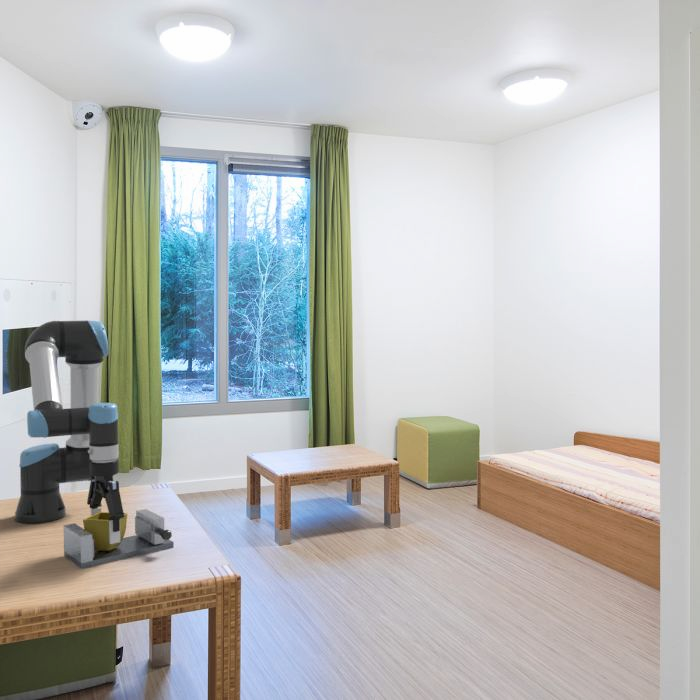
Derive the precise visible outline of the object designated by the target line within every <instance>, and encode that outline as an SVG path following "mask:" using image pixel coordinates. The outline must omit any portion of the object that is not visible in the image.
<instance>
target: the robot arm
mask: <svg viewBox="0 0 700 700" xmlns="http://www.w3.org/2000/svg"><path fill="white" fill-rule="evenodd" d="M107 335H108V334H107V332H106V327H105V326H104V324H103V322H101V321H96V320H51V321H48V322H47V321H46V322H45V323H43V324H41V325H40V326H38V327H37V328H35V329H34V330H33V331H32V332H31V333H30V335H29V336H28V338H27V340H26V342H25V346H24V358H25V360H26V361H27V363H28V364H29V371H30V372H29V373H30V384H31V395H32V403H33V404H32V405H33V409H32V410H29V411H28V412H27V414H26V417H27V418H26V421H27V426H26V427H27V435H28V436H29V437H30V438H45V439H46V438H52V437H64V436H66V437H67V436H70V437H69V438H68V439H67V440H66V441H65V447H60V446H59V444H58V443H44V444H39V445H35V446H30V447H28V448H25V449H24V450H22V451H21V453H20V454H19V455H20V456H19V465H18V466H19V469H20V470H19V471H20V472H19V473H20V478H19V479H20V484H19V485H20V497H19V499H18V502H17V506H16V509H15V512H14V520H15V521H16V522H18V523H20V524H21V523H23V524H39V523H46V522H52V521H56V520H59V519H61V518H64V517H65V516H66V514H67V512H66V510H67V509H66V505H65V503H64V500H63V497H62V495H61V491H60V484H65V483H67V484H68V483H77V482H85V481H89V482H90V484H89V489H88V490H89V491H88V494H87V495H88V496H87V502H86V503H87V506H89V508H90V516H92V515H95V514H97V513H99V512H102V506H103V505H102V502H103V501H102V500H103V498H104V500H105V503H106V507H107V511H108V513H109V514H110V517H109V519H108V520H109V544H114V543H119V542H120V519H121V518H124V513H125V512H124V508H123V504H122V503H123V502H122V498H121V492H120V483H119V481H118V480H116V481H114V475H117V474H119V472H120V471H119V469H120V467H119V466H120V465H119V463H120V462H119V459H118V458H119V455H120V454H119V452H120V451H119V450H120V449H119V447H120V446H119V413H118V405H117V403H113V402H99V367H100V366H101V364H103V363H104V357H107V356H109V343H108V336H107ZM59 358H64V359H65V360H64V361H65V364H67V365H68V366H69V368H70V372H69V373H70V408H63V401H62V394H61V393H62V392H61V385H60V377H59V369H58V364H57V362H58V361H57V360H58V359H59Z"/></svg>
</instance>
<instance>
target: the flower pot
mask: <svg viewBox="0 0 700 700" xmlns="http://www.w3.org/2000/svg"><path fill="white" fill-rule="evenodd" d="M123 513H124V518H121V519H120V542H119V543H114V544H109V520H108V519H109V517H110V514H109V511H108V512H104V511H103V512H102V511H101V512H99V513H97V514H95V515H92V516H91V515H90V516H88V517H85V518H84V519H82V521H83V529H85V530H86V531H88V532H89V533H91V534H92V538H93V539H94V550H105V551H110V550H112V549H114V548H116V547H117V546H119V545H120V543H121V541H122V539H123V538H125V534H126V530H127V521H128V512H123Z"/></svg>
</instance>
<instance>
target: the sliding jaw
mask: <svg viewBox="0 0 700 700" xmlns="http://www.w3.org/2000/svg"><path fill="white" fill-rule="evenodd" d="M135 514H136V515H135V516H134V534H135V535H138V536H140V537H142V538H143V539H145V540H147V541H149V542H151V543H152V544H154V545H155V544H160V543H164V542H165V540H171V538H172V531H171V530H170V529H165V517H163V516H161V515H160V514H157V513H155V512H154V511H150V510H149V509H146V508H145V509H140V510H135Z"/></svg>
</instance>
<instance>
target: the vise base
mask: <svg viewBox="0 0 700 700" xmlns="http://www.w3.org/2000/svg"><path fill="white" fill-rule="evenodd" d="M171 548H174V541H172V540H171V539H169V540H165V542H164V543H160V544H155V545H154V544H152V543H151V542H149V541H147V540H145V539H143V538H142V537H140V536H138V535H136V534H135V535H131V536H130V535H129V536H124V537H123V539H122V541H121V543H120V545H119V546H117V547H116V548H114V549H112V550H110V551H105V550H94V539H93V538H92V534H91V533H89V532H88V531H86V530H85V529H84V527H81V526H80V525H78V524H76V522H75V523H74V522H73V523H70V524H69V523H68V524H65V525H63V556H64V557H65V558H66V559H68V561H70V562H71V563H72V564H74V565H75V566H76V567H78V568H79V569H81V570H83V569H87V568H92V567H96V566H99V565H104V564H108V563H111V562H112V563H113V562H115V561H116V562H118V561H121V560H125V559H129V558H133V557H138V556H143V555H146V554H150V553H155V552H159V551H163V550H167V549H171Z"/></svg>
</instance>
